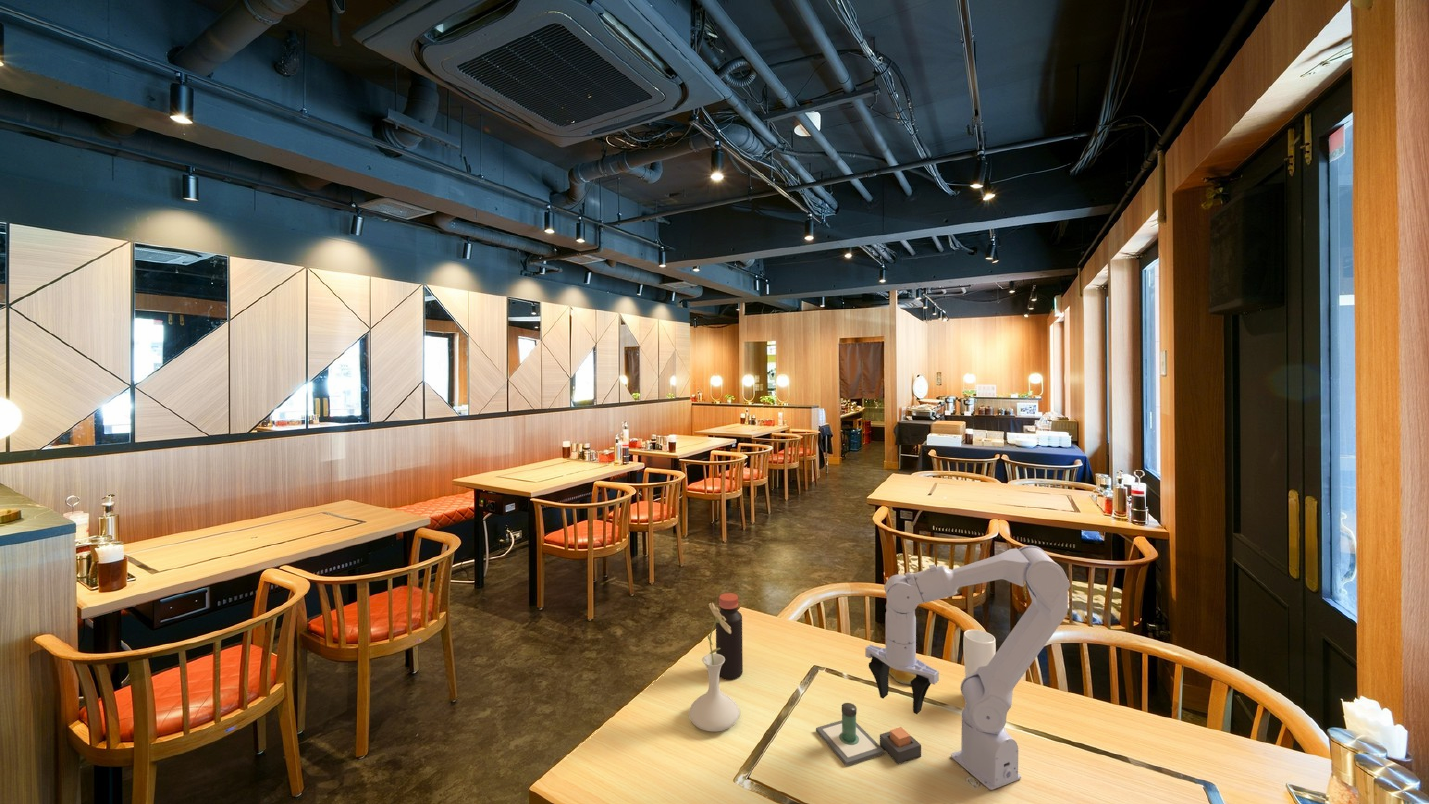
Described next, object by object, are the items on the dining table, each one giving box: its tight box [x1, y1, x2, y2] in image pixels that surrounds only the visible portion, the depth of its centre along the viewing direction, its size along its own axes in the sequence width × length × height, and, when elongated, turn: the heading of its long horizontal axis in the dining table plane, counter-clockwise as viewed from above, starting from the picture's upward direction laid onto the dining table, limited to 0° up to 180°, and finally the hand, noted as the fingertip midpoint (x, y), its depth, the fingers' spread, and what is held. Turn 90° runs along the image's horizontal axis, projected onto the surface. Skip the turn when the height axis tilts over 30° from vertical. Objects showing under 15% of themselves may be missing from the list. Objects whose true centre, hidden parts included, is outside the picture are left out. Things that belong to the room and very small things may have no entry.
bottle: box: [715, 592, 744, 681], centre depth 134 cm, size 7×7×20 cm
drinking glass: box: [962, 629, 997, 678], centre depth 122 cm, size 7×7×15 cm
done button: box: [889, 726, 912, 748], centre depth 106 cm, size 3×3×2 cm
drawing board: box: [815, 719, 885, 767], centre depth 108 cm, size 11×9×1 cm
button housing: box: [879, 730, 922, 765], centre depth 106 cm, size 6×6×2 cm
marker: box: [841, 702, 858, 742], centre depth 108 cm, size 3×3×6 cm
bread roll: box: [889, 667, 916, 686], centre depth 132 cm, size 8×9×4 cm
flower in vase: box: [688, 602, 741, 732], centre depth 116 cm, size 13×11×25 cm
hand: (900, 703), depth 105 cm, fingers open, 6 cm apart
